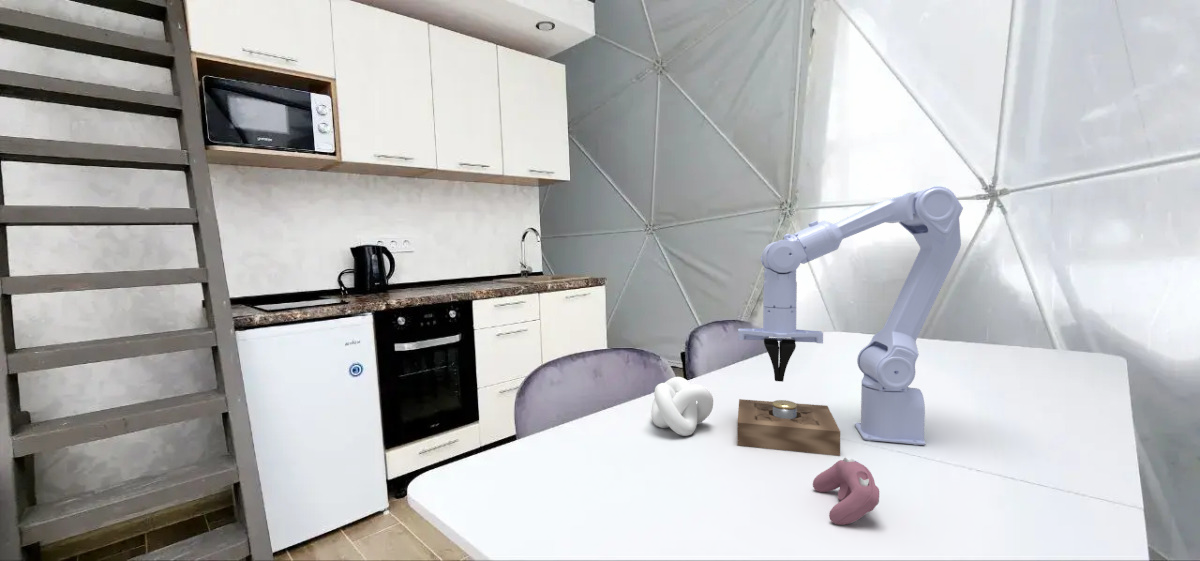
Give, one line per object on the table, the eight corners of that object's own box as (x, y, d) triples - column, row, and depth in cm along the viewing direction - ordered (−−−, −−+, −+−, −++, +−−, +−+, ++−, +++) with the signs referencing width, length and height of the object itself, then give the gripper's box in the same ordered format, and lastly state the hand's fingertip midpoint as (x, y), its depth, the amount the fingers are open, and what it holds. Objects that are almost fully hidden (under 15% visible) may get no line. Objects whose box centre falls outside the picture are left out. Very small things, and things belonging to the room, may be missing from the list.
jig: (827, 426, 93) (827, 405, 93) (840, 455, 79) (840, 431, 79) (739, 419, 97) (739, 399, 97) (737, 445, 84) (737, 422, 84)
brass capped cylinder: (795, 433, 90) (795, 401, 89) (797, 441, 86) (797, 407, 85) (771, 431, 91) (772, 399, 90) (773, 439, 87) (773, 405, 87)
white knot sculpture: (705, 417, 99) (705, 373, 98) (721, 439, 87) (721, 389, 86) (649, 418, 99) (648, 374, 98) (657, 441, 87) (657, 391, 86)
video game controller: (863, 542, 59) (894, 493, 58) (827, 522, 59) (856, 473, 58) (839, 501, 68) (864, 458, 67) (808, 484, 69) (833, 442, 68)
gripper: (738, 308, 88) (737, 383, 89) (826, 310, 84) (825, 388, 85) (738, 304, 95) (738, 373, 96) (820, 305, 91) (819, 378, 92)
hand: (778, 380), depth 91 cm, fingers closed
